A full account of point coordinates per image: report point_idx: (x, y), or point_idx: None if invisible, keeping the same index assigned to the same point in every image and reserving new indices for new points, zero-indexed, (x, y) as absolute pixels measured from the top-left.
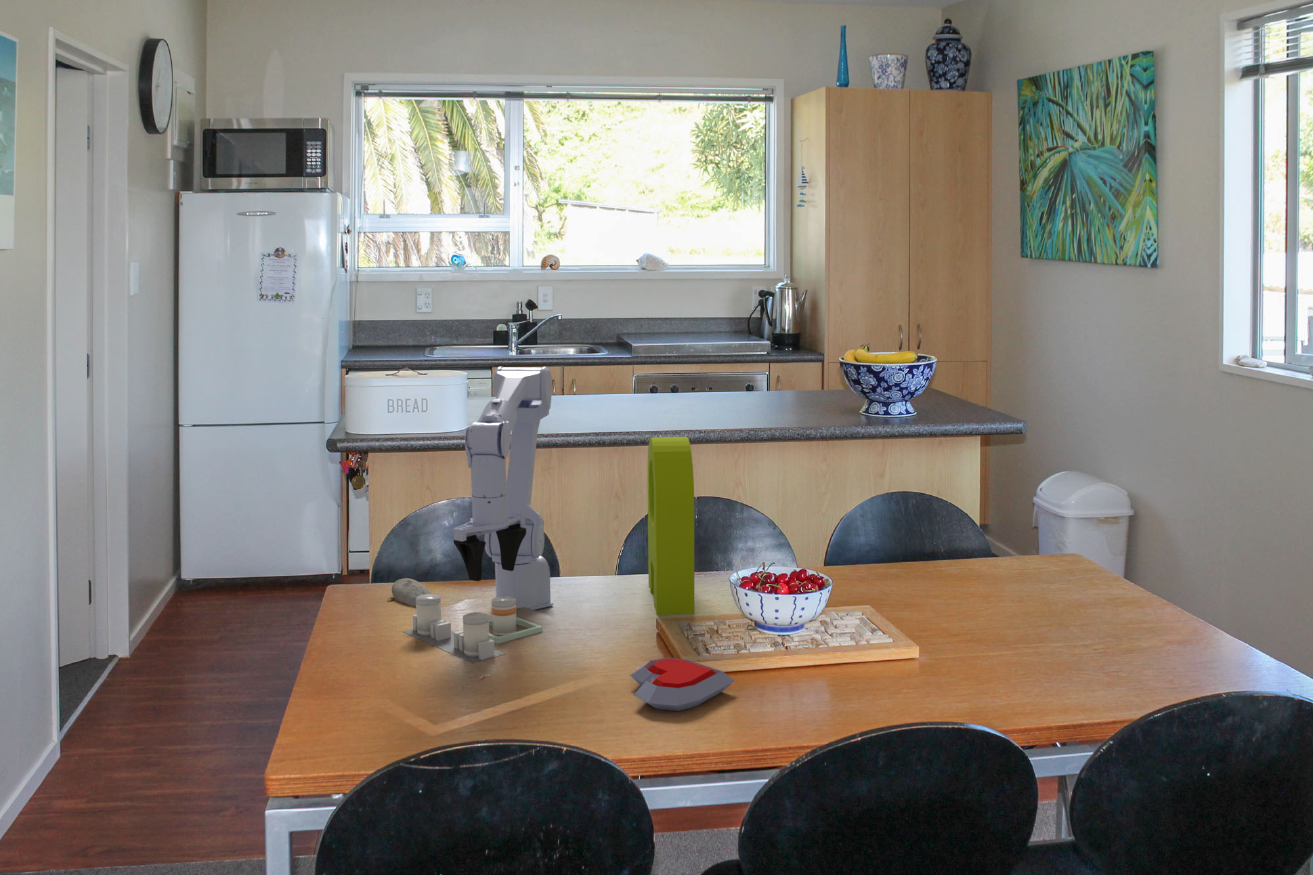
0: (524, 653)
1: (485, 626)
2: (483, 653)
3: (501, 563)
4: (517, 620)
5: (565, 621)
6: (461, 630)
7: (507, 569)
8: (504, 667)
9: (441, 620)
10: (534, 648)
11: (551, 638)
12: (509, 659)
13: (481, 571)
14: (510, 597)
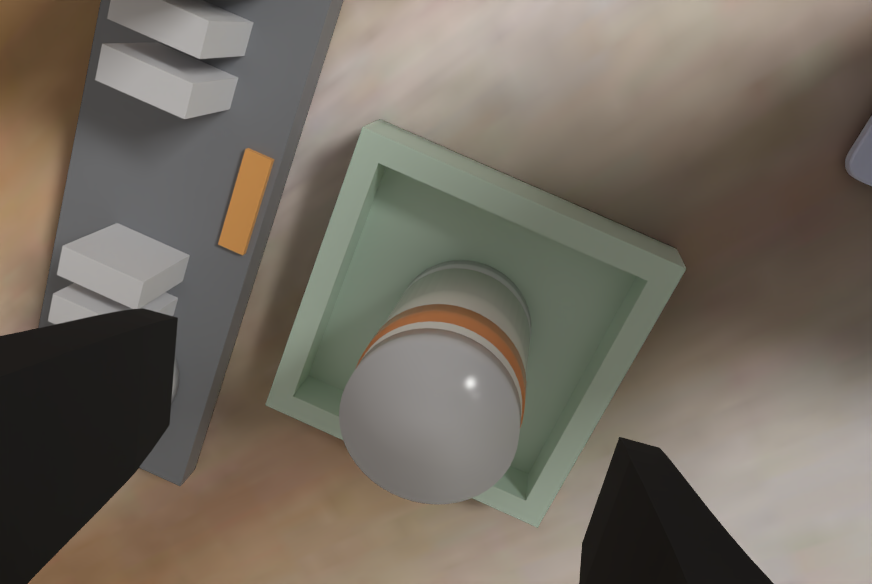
0: (303, 504)
1: None
2: None
3: (626, 463)
4: (608, 347)
5: (839, 499)
6: (112, 269)
7: (595, 508)
8: (129, 499)
9: (187, 27)
10: (379, 517)
11: (538, 534)
12: (211, 479)
13: (104, 499)
14: (493, 447)
